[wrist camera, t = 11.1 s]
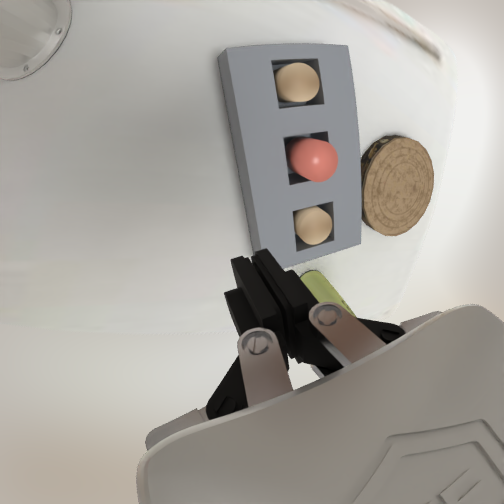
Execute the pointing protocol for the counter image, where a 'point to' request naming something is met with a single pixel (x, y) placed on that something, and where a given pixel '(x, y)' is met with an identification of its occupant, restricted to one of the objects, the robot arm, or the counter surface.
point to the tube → (323, 289)
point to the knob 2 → (312, 224)
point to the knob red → (311, 158)
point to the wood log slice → (395, 184)
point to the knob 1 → (296, 83)
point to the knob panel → (281, 133)
